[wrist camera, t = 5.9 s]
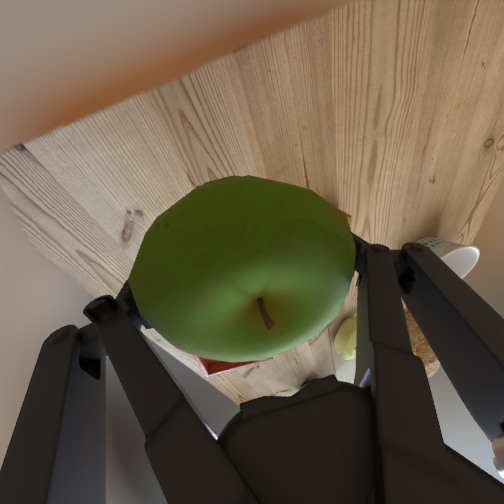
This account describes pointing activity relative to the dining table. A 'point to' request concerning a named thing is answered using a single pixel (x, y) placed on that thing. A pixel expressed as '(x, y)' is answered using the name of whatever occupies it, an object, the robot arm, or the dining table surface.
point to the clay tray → (221, 365)
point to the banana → (347, 339)
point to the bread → (421, 346)
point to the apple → (244, 269)
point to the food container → (453, 254)
